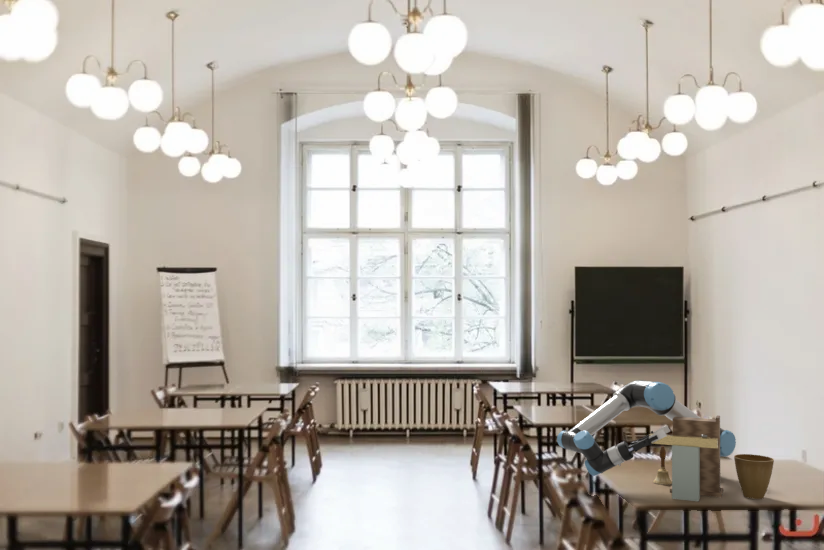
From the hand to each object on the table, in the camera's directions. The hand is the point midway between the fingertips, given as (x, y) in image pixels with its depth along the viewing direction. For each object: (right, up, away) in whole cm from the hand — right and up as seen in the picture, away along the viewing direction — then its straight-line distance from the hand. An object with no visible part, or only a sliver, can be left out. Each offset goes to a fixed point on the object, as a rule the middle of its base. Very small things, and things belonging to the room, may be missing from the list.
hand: (667, 430), depth 322 cm
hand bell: (+6, -28, +24) cm, 38 cm away
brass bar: (+5, -5, -3) cm, 8 cm away
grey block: (+6, -26, -4) cm, 27 cm away
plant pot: (+35, -27, -1) cm, 44 cm away
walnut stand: (+15, -27, +7) cm, 32 cm away
